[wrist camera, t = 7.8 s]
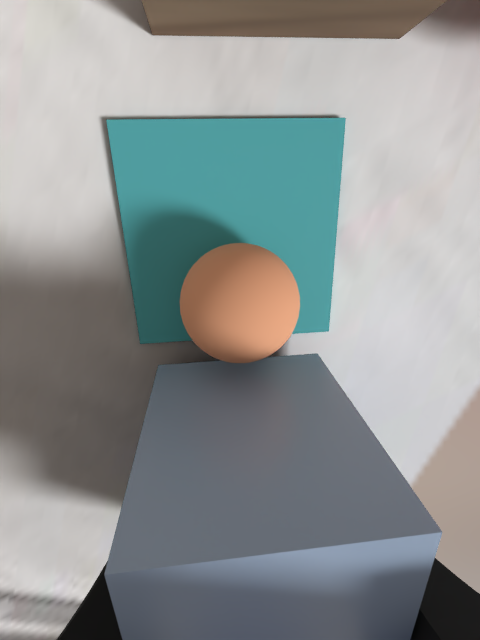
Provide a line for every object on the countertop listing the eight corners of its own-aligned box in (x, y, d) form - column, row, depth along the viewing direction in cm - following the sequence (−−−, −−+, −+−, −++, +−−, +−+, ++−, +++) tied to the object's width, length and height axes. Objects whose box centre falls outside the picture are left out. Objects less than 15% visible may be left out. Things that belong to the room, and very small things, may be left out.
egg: (327, 301, 8) (294, 216, 10) (169, 310, 7) (173, 220, 10) (301, 381, 10) (280, 299, 13) (185, 390, 10) (186, 305, 12)
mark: (326, 329, 13) (328, 331, 12) (141, 341, 12) (140, 343, 12) (342, 119, 10) (345, 117, 10) (108, 121, 9) (106, 119, 9)
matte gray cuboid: (305, 527, 15) (374, 758, 9) (182, 542, 15) (166, 797, 8) (317, 353, 12) (442, 532, 6) (158, 365, 11) (104, 575, 5)
